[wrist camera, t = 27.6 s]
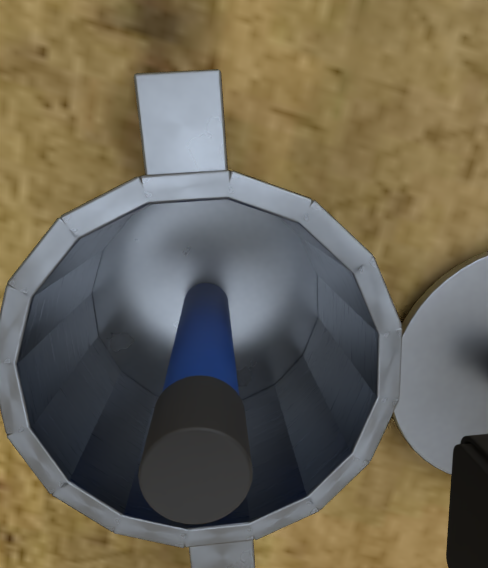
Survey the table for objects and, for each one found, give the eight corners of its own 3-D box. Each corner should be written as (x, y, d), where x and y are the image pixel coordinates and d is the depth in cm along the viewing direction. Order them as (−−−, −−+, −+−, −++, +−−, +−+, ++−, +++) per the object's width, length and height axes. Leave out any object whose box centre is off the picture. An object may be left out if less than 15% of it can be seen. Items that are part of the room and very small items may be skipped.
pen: (228, 278, 21) (249, 422, 9) (232, 324, 21) (255, 520, 9) (179, 282, 20) (130, 434, 8) (184, 328, 21) (144, 531, 9)
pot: (328, 104, 19) (414, 52, 11) (331, 444, 24) (393, 585, 16) (49, 120, 19) (-80, 76, 10) (107, 466, 23) (49, 625, 15)
